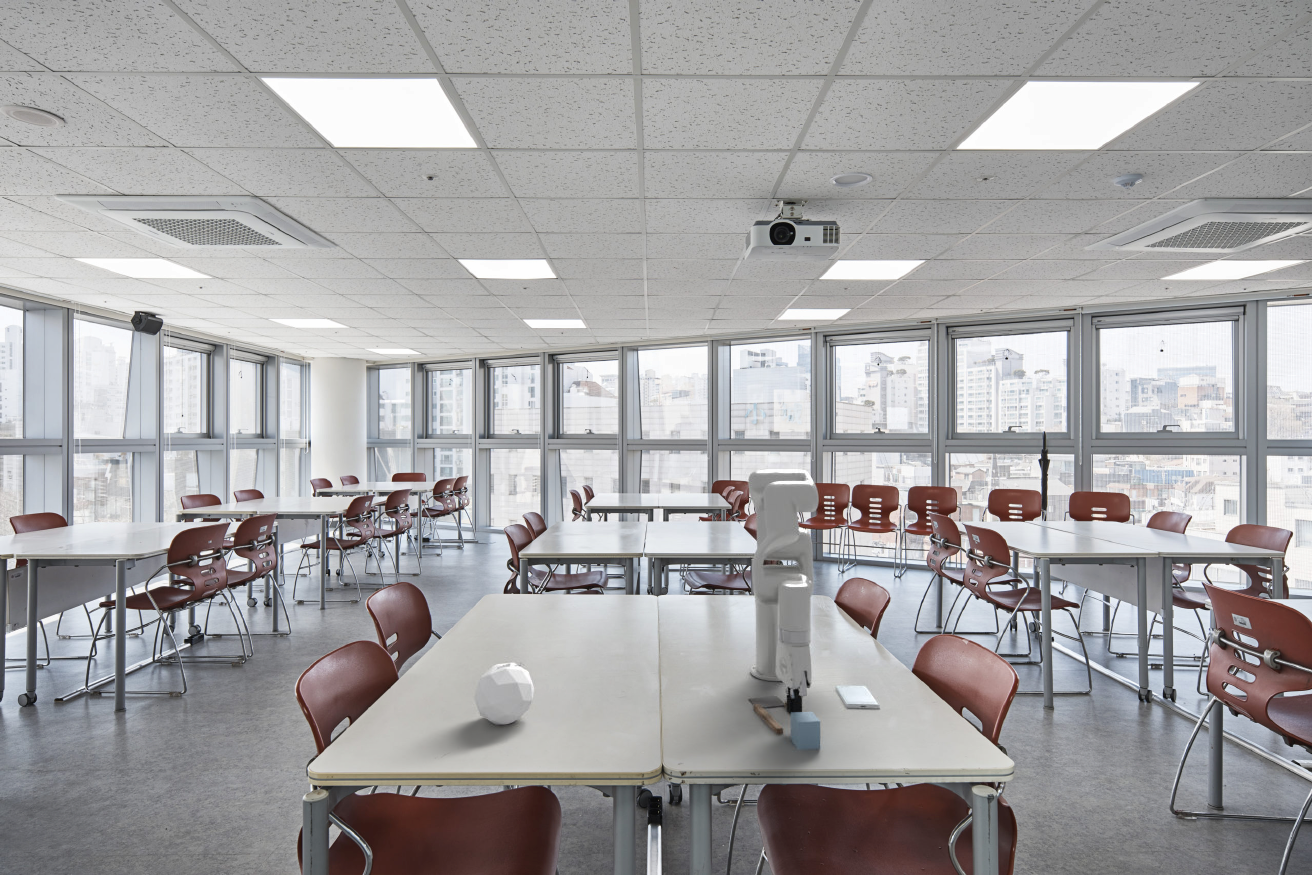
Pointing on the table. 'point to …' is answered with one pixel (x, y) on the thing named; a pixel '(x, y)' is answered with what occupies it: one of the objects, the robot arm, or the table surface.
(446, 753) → the table surface
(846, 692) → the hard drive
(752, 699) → the guide channel
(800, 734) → the block
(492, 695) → the geodesic sphere
